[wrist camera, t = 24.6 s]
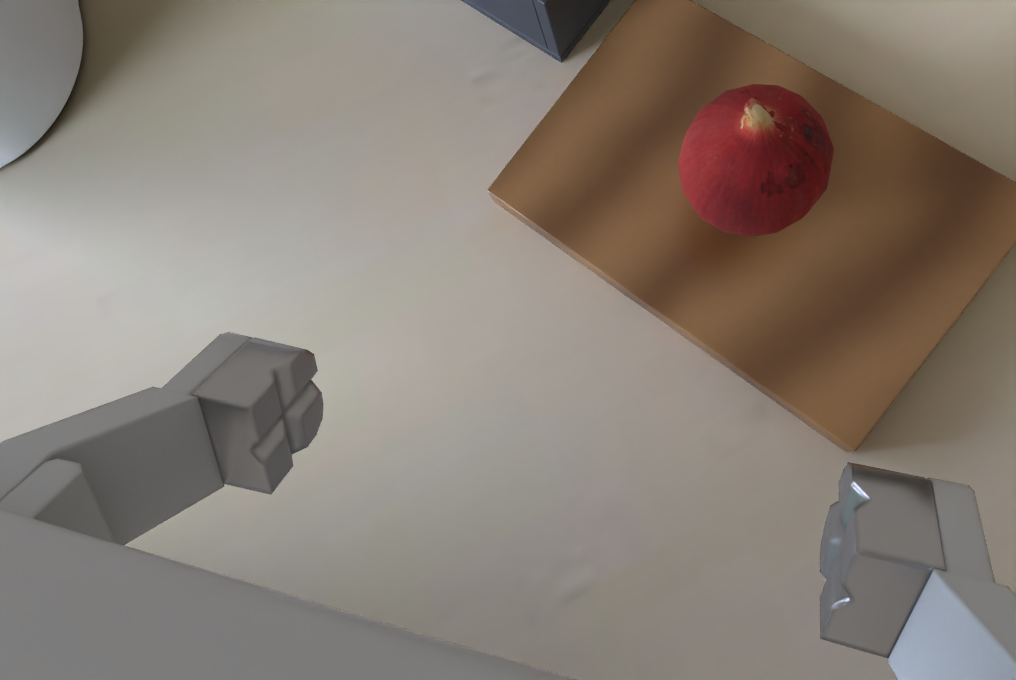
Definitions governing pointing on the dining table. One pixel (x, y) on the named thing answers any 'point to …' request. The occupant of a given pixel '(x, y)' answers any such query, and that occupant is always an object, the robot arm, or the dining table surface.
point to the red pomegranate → (755, 160)
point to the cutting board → (772, 257)
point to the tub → (544, 20)
